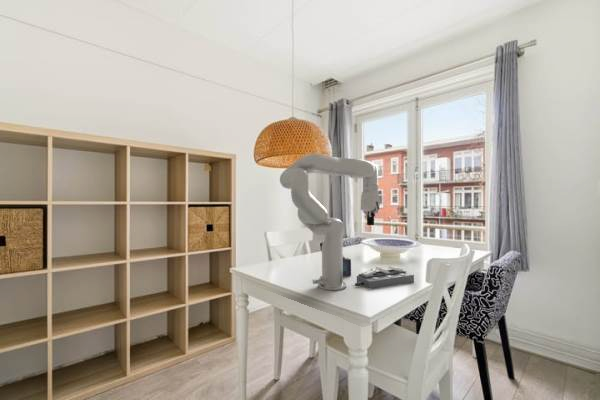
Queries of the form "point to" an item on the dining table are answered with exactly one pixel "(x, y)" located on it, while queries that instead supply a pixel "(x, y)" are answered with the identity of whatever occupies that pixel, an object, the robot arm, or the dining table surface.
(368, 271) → the rocker
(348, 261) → the flask
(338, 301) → the dining table surface
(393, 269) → the rocker
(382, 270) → the rocker
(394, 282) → the power strip
